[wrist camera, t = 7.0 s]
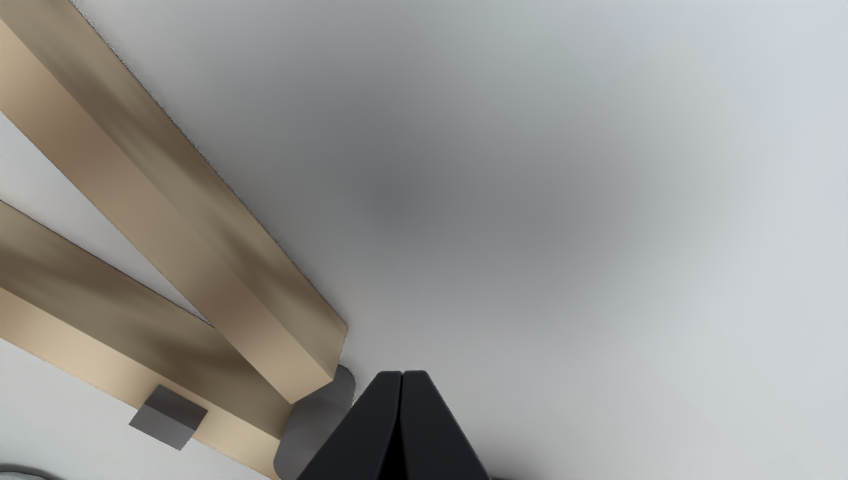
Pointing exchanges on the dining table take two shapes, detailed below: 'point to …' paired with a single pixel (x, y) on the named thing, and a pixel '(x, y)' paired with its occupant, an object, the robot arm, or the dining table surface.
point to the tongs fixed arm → (154, 355)
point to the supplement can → (18, 476)
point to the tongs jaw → (162, 193)
